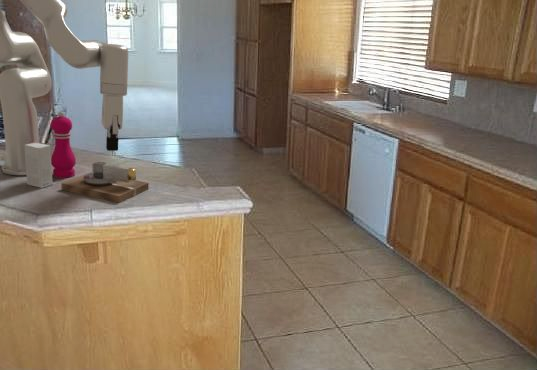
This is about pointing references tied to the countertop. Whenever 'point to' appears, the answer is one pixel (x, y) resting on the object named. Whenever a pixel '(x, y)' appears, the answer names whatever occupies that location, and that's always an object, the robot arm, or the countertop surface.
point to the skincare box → (38, 165)
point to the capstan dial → (109, 174)
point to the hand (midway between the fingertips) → (112, 149)
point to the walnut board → (106, 189)
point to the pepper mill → (62, 147)
